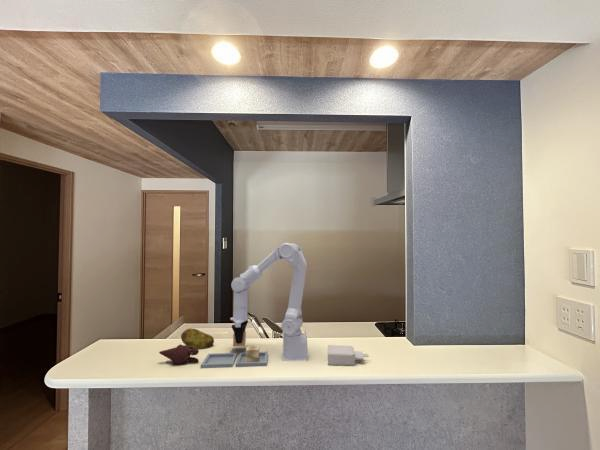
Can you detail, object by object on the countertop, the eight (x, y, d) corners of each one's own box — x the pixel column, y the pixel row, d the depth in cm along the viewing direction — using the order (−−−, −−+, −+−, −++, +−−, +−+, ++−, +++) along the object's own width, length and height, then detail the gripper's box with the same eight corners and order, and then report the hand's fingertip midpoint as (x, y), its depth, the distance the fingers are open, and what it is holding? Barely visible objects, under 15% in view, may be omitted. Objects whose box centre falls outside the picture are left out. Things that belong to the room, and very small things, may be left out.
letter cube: (245, 342, 118) (245, 331, 119) (244, 346, 114) (244, 334, 114) (234, 342, 118) (234, 331, 118) (233, 346, 113) (233, 334, 114)
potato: (207, 352, 116) (207, 332, 117) (177, 351, 118) (178, 331, 119) (215, 345, 125) (216, 326, 125) (187, 344, 126) (188, 325, 127)
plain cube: (259, 358, 109) (259, 345, 109) (258, 362, 104) (258, 349, 104) (247, 358, 108) (247, 346, 109) (245, 363, 104) (245, 350, 104)
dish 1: (237, 356, 111) (237, 352, 111) (232, 368, 100) (232, 363, 100) (208, 357, 110) (208, 353, 110) (200, 369, 99) (200, 364, 99)
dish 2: (268, 355, 112) (268, 351, 112) (266, 367, 101) (266, 362, 101) (239, 356, 111) (239, 352, 111) (235, 368, 100) (235, 363, 100)
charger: (370, 367, 101) (327, 366, 102) (366, 357, 110) (327, 356, 111) (370, 353, 101) (327, 352, 103) (366, 345, 110) (327, 344, 112)
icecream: (153, 349, 101) (194, 354, 100) (164, 338, 108) (203, 342, 107) (153, 367, 102) (194, 372, 101) (165, 354, 110) (202, 359, 109)
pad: (249, 349, 119) (249, 347, 119) (247, 355, 112) (247, 353, 112) (232, 349, 119) (232, 348, 119) (229, 356, 112) (229, 354, 112)
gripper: (233, 303, 124) (232, 335, 123) (227, 310, 110) (226, 347, 108) (249, 303, 125) (249, 335, 123) (246, 310, 110) (245, 346, 109)
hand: (240, 341), depth 116 cm, fingers closed on letter cube, 5 cm apart
